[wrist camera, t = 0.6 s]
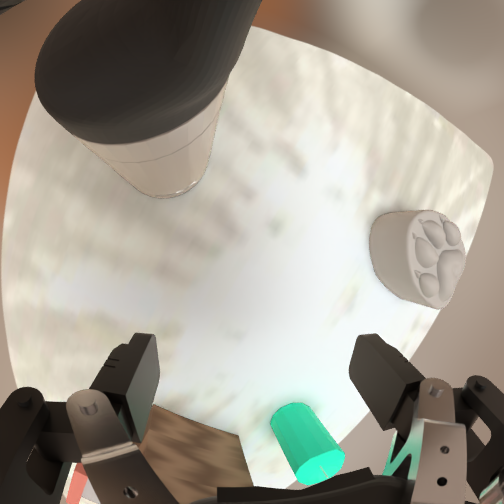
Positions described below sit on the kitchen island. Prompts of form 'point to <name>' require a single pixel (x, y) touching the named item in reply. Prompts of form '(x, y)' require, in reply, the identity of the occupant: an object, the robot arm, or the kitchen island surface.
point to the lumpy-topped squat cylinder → (417, 256)
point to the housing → (192, 456)
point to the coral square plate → (80, 487)
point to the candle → (306, 444)
